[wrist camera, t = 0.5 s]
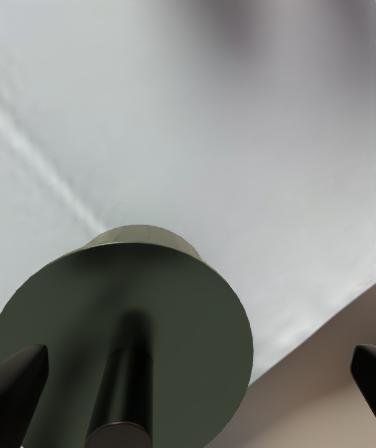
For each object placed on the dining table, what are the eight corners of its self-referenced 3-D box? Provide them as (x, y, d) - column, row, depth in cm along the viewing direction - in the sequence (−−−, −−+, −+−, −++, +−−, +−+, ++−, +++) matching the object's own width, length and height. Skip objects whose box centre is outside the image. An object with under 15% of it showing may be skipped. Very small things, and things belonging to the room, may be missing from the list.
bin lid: (60, 491, 14) (8, 658, 9) (-49, 288, 12) (-200, 363, 7) (269, 405, 15) (326, 512, 10) (210, 203, 13) (246, 213, 8)
